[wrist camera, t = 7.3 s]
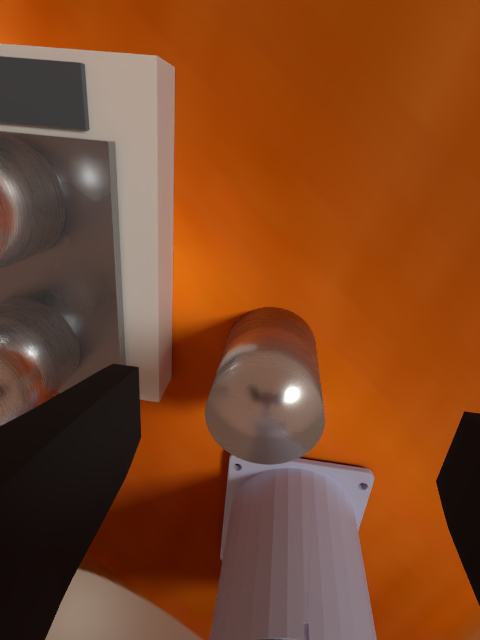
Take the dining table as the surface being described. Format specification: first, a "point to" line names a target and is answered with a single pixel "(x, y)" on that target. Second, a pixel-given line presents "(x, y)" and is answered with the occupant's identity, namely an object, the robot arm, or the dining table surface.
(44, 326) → the cylinder
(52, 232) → the cylinder
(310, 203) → the dining table surface
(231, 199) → the dining table surface
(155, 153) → the scale
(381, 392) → the dining table surface
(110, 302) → the grey metal plate
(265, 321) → the cylinder
